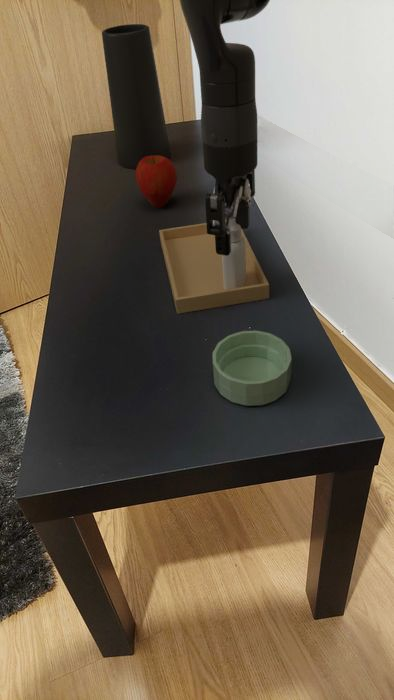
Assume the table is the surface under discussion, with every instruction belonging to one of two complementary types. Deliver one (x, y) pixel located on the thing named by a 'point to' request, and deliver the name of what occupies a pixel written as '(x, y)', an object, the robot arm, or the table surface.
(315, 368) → the table surface
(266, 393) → the bowl
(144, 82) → the vase
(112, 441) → the table surface
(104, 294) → the table surface
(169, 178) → the apple
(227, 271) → the eye dropper bottle
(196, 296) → the tray
